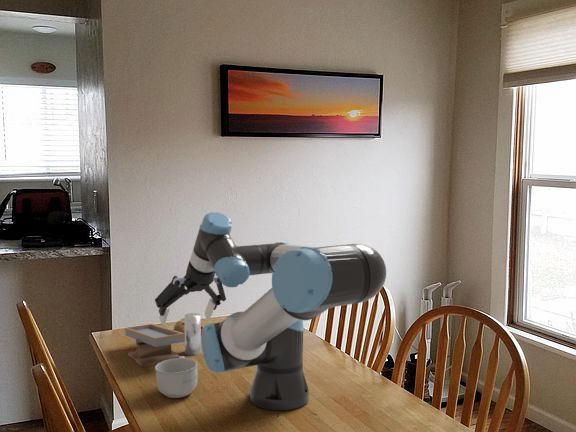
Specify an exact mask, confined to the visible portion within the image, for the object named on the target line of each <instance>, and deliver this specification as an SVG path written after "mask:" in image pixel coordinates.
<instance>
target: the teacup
mask: <svg viewBox="0 0 576 432" xmlns="http://www.w3.org/2000/svg"><path fill="white" fill-rule="evenodd" d="M179 356H180V357H179V358H174V359H169V360H165V361H162V362H160V363H158V364H155V365H154V366H155V367H154V370H155V377H156V385H157V389H158V391H159V392H160V393H161V394H162V395H164V396H166V397H168V398H171V399H178V398H179V399H180V398H184V397H187V396H189V395H190V394H191V393H192V392H193V391H194V390H195V389H196V388H197V386H198V362H197V361H196V360H195V359H192V358H186V357H185V356H183V355H179Z"/></svg>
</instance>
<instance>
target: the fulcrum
mask: <svg viewBox="0 0 576 432" xmlns="http://www.w3.org/2000/svg"><path fill="white" fill-rule="evenodd" d="M135 344H136V345H135V346H136V347H135V348H136V349H135V350H133V351H132V350H131V351H128V352H127V354H128V355H127V356H129V357H130V358H131V359H132V360H133V361H134V362H135V363H137V365H139V366H141V368H144V367H149V366H156V365H157V364H158V363H160V362H162V361H165V360H169V359H174V358H179V357H180V356H181V355H179V354H178V353H177V352H175V351H173V350H172V344H168V345H163V346H157V347H155V346H152V345H149V344H147V343H144V342H141V343H136V342H135Z"/></svg>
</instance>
